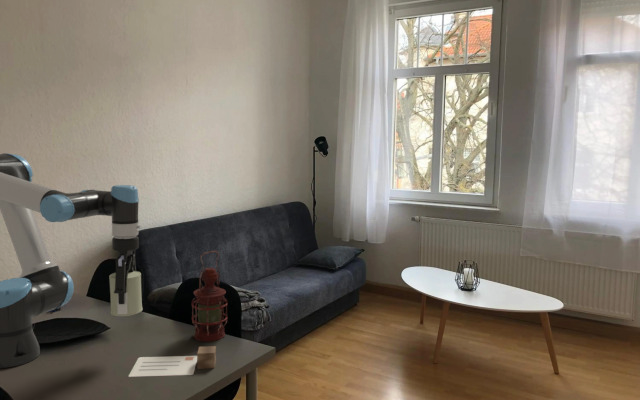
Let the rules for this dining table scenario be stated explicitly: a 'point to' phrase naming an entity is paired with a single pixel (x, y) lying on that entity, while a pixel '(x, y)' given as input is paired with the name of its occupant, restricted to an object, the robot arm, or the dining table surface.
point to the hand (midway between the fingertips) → (126, 308)
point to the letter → (164, 366)
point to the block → (206, 357)
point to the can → (128, 294)
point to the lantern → (209, 306)
